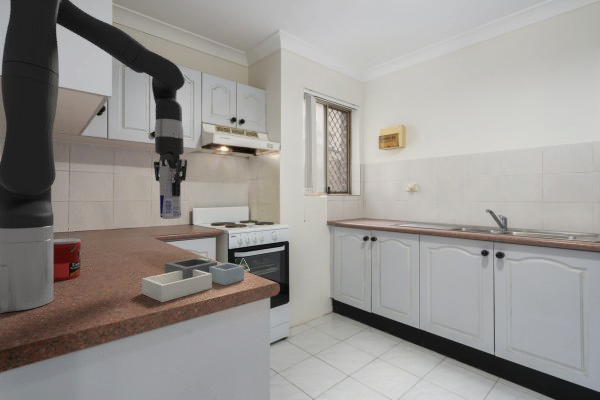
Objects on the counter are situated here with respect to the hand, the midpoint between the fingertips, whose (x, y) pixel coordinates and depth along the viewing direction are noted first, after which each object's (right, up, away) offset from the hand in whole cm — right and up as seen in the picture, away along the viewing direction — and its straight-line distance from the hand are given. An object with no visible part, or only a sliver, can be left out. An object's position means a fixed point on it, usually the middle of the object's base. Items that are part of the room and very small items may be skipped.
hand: (170, 195), depth 87 cm
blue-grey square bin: (+16, -24, 0) cm, 29 cm away
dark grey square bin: (+5, -24, +2) cm, 25 cm away
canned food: (-32, -24, +1) cm, 40 cm away
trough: (+6, -24, -10) cm, 27 cm away
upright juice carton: (0, -7, 0) cm, 7 cm away
